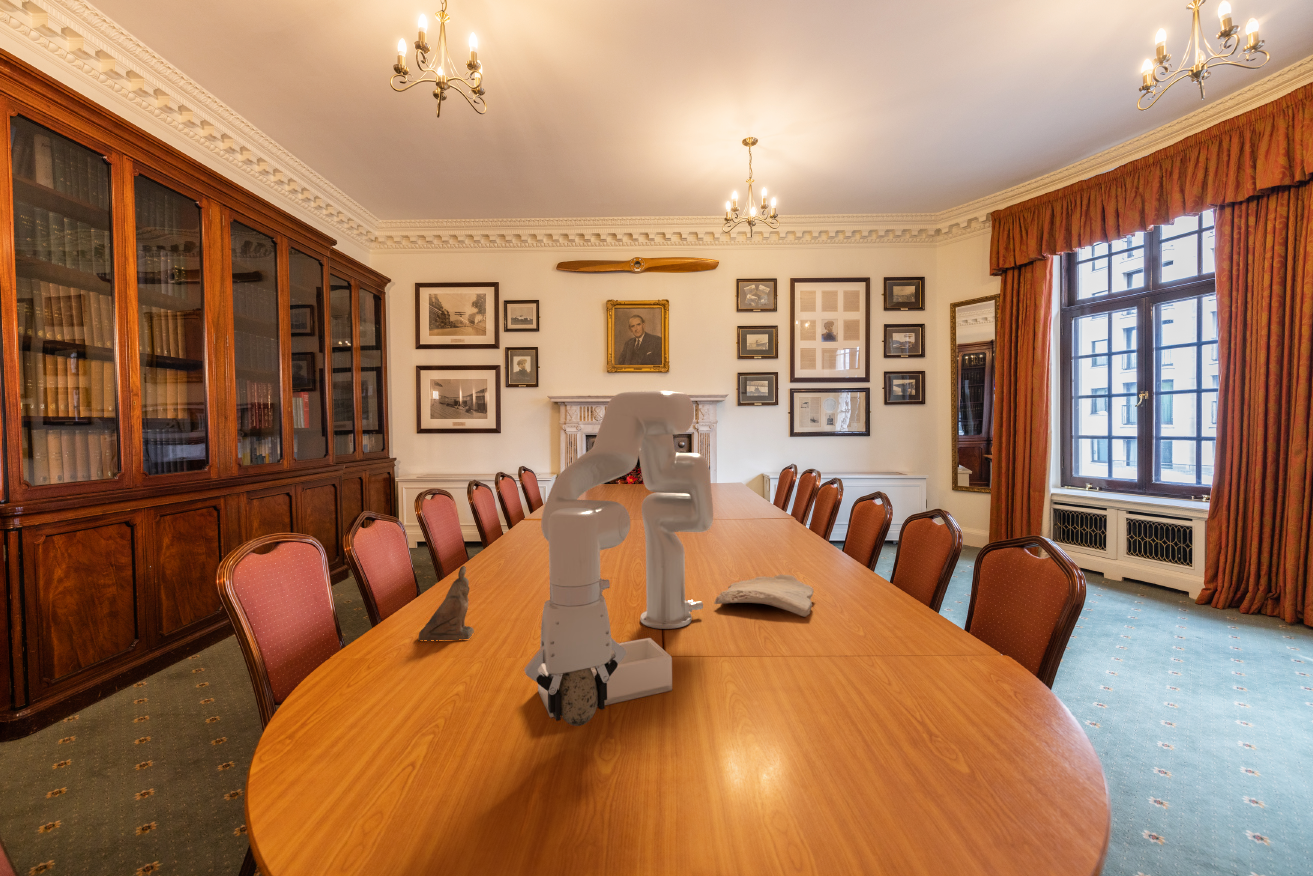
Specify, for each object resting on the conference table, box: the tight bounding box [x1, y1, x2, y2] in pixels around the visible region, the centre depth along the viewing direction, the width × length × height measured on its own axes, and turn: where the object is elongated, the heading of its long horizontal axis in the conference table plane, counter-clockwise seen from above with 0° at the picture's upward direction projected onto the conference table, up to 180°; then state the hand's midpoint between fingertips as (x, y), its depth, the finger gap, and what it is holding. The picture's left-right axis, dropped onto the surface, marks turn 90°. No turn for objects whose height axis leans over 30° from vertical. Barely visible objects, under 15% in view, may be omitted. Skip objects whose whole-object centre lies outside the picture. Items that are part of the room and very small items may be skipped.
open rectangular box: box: [537, 637, 673, 718], centre depth 96 cm, size 22×10×6 cm, turn 114°
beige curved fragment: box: [713, 574, 815, 618], centre depth 144 cm, size 24×8×20 cm
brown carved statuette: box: [418, 565, 475, 642], centre depth 123 cm, size 12×6×18 cm, turn 87°
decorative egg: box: [559, 668, 598, 727], centre depth 80 cm, size 6×6×10 cm
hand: (578, 709), depth 80 cm, fingers closed on decorative egg, 6 cm apart
